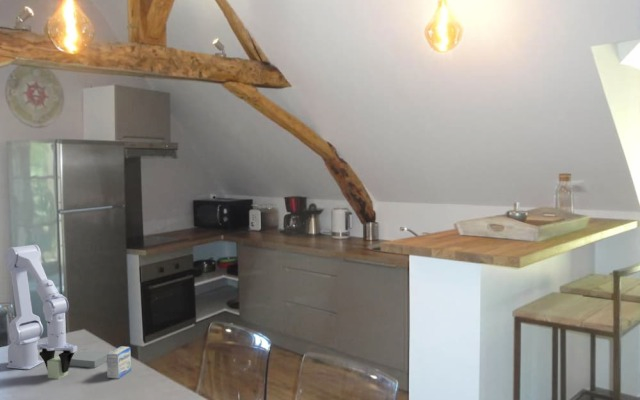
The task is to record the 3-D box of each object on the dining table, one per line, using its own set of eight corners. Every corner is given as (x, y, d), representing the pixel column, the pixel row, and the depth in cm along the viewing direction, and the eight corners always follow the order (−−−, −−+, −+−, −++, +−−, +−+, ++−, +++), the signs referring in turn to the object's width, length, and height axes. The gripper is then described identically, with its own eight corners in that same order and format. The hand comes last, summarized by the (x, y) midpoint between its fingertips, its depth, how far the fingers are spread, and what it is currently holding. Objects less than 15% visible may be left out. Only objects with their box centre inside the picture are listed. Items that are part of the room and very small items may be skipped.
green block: (47, 377, 179) (47, 360, 179) (57, 372, 184) (56, 356, 184) (59, 379, 178) (58, 361, 178) (68, 374, 183) (67, 357, 182)
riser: (66, 365, 191) (65, 358, 191) (84, 355, 201) (84, 349, 200) (94, 368, 188) (94, 361, 188) (111, 358, 198) (111, 351, 198)
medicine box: (118, 379, 178) (118, 354, 178) (106, 378, 179) (106, 353, 179) (131, 370, 186) (130, 346, 185) (120, 369, 187) (119, 345, 186)
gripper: (29, 334, 178) (31, 373, 179) (66, 337, 175) (67, 377, 176) (45, 328, 185) (46, 365, 186) (80, 331, 182) (81, 369, 182)
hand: (57, 370), depth 181 cm, fingers open, 5 cm apart
